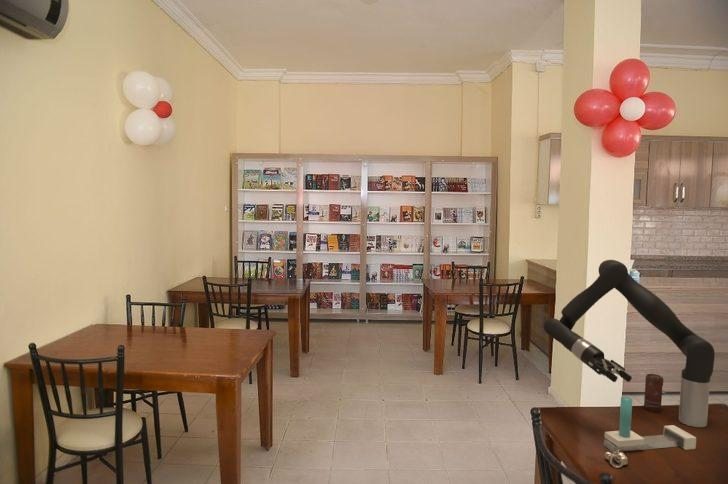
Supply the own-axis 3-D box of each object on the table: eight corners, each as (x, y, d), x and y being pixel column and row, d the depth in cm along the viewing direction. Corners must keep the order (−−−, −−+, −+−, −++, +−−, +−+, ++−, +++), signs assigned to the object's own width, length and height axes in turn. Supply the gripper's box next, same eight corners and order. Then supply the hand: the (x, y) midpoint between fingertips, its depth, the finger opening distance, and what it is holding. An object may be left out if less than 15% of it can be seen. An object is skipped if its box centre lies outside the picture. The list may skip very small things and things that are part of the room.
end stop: (672, 435, 186) (673, 425, 186) (695, 448, 177) (696, 437, 176) (661, 436, 185) (662, 425, 185) (684, 449, 176) (684, 438, 175)
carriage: (629, 435, 181) (632, 393, 180) (644, 444, 174) (646, 401, 173) (604, 437, 179) (606, 395, 178) (618, 446, 172) (620, 403, 171)
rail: (667, 439, 183) (667, 434, 183) (678, 446, 178) (678, 440, 178) (603, 445, 178) (603, 439, 178) (613, 452, 173) (613, 446, 173)
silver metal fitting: (607, 454, 172) (608, 444, 172) (630, 461, 168) (631, 451, 167) (600, 464, 166) (601, 453, 166) (624, 471, 161) (624, 460, 161)
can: (663, 412, 207) (666, 379, 206) (646, 411, 208) (648, 377, 207) (658, 407, 213) (660, 374, 211) (641, 405, 214) (643, 372, 213)
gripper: (579, 344, 188) (616, 371, 175) (603, 345, 196) (639, 371, 183) (571, 361, 191) (606, 389, 178) (594, 361, 198) (630, 388, 185)
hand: (623, 379), depth 180 cm, fingers open, 8 cm apart
